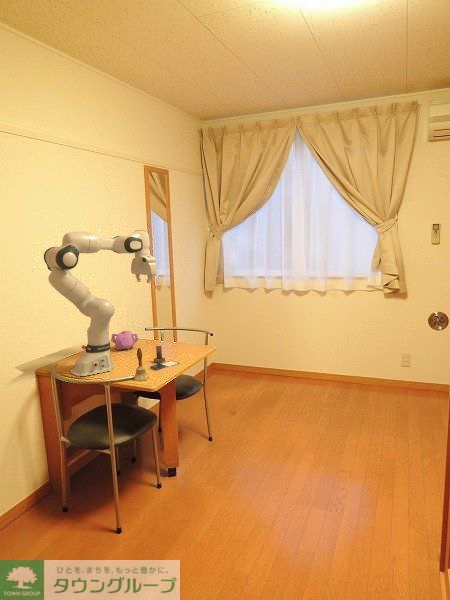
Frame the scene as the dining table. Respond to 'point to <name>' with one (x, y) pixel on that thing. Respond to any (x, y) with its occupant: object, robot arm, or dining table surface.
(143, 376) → the hand bell
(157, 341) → the dining table surface
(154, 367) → the ink pad
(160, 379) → the dining table surface
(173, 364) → the marked card
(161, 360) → the stamp
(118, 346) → the pot
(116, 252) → the robot arm
